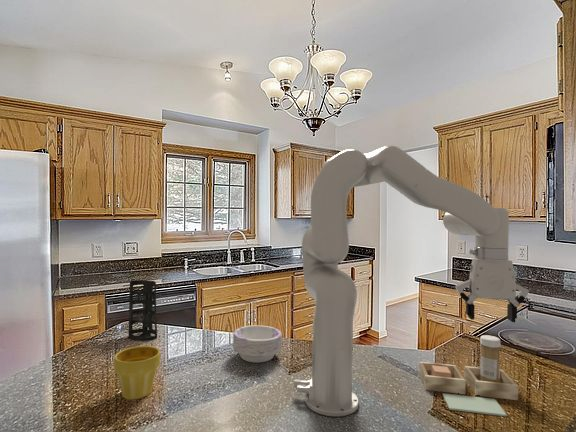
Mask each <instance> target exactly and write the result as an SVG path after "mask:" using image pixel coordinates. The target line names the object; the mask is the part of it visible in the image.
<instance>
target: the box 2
mask: <svg viewBox="0 0 576 432" xmlns="http://www.w3.org/2000/svg"><path fill="white" fill-rule="evenodd" d="M463 374H464V375H463V377H464V378H465V380H466V381H467V382H466V383H467V385H468V384H469V385H468V386H469V388H470V387H471V388H470V389H471V391H472V390H473V391H472V392H473V394H474V393H475V394H474V395H475V396H476V395H480V396H479V397H484V398H493V399H503V400H505V399H506V400H514V401H519V385H518V384H517V383H516V382H515V381H514V380H513V379H512V377H510V375H508V374H507V373H506V372H505V370H504V369H501V368H500V378H499V383H498V382H488V381H481V366H480V367H478V366H470V365H468V366H467V365H465V366H464V373H463Z"/></svg>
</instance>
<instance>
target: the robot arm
mask: <svg viewBox="0 0 576 432" xmlns="http://www.w3.org/2000/svg"><path fill="white" fill-rule="evenodd" d="M383 182H385V184H388V185H389V186H390V187H392V188H394V190H396V191H397V192H399V193H400V194H401V195H403V196H404V197H406V198H407V199H408V200H409V201H411V202H412V203H414V204H416V205H418V206H422V207H424V208H427V209H428V208H429V209H434V210H437V211H441V212H444V213H445V214H444V215H443V217H442V218H443V219H442V224H443V226H444V228H445V229H446V230H447V231H448V232H450V233H451V234H454V235H458V236H459V235H462V236H475V246H474V247H473V248H471V249H469V255H473V256H474V258H472V259H471V260H472V261H471V264H470V265H471V266H470V269H469V270H470V271H469V278H468V280H465V281H463V282H461V283H458V284H456V285H455V286H454V287H455V289H456V292H457V293H458V296H459V297H461V299H462V300H463V301H464V302H465V314H466V316H467V317H468V318H469V319H470V320H473V321H474V320H475V304H474V302H475V301H476V300H477V299H484V300H485V299H486V300H487V299H488V300H506V301H507V302H508V304H507V307H506V309H507V310H506V311H507V312H506V313H507V314H506V315H507V316H506V318H507V320H508V321H510V322H512V323H516V319H517V318H518V307H520V305H521V303H523V302H524V301H525V299H526V297H527V296H528V295H529V293H530V290H529V289H528V288H525V287H523V286H522V285H520V284H518V283H516V275H515V267H514V263H513V260H510V259H509V233H510V232H509V230H510V229H509V228H510V227H509V221H510V220H509V218H510V215H509V210H508V209H506V208H503V207H494V206H492V204H491V203H489V202H488V201H487V200H485V199H484V198H483V197H481V196H480V194H478V193H476V192H474V191H473V190H471V189H468V188H466V187H465V186H461V185H459V184H457V183H454V182H452V181H450V180H448V179H445V178H443V177H440V176H437V175H436V174H435V173H433V172H432V171H430V170H429V169H428V168H426V167H425V166H424V165H423V164H422V163H420V162H418V160H416V159H414V158H413V156H411V155H410V154H408V153H407V152H405V150H403V149H402V148H400V147H397V146H395V145H386V146H383V147H380V148H378V149H375V150H373V151H371V152H368V153H363V152H362V151H360V150H359V149H358V150H357V149H354V148H353V149H345V150H343V151H340V152H339V153H337V154H335V155H334V156H332V157H330V158H328V159H327V160H326V161H324V162H323V164H322V166H321V169H320V171H319V173H318V175H317V176H316V179H315V181H314V183H313V186H312V189H311V195H310V227H308V228H307V229H306V231H305V232H304V234H303V237H302V241H301V254H302V256H301V257H302V268H303V280H304V285H305V289H306V292H307V293H308V294H309V296H310V297H311V298H312V299H314V301H315V308H314V314H313V321H312V353H311V354H312V355H311V356H312V359H311V360H312V361H311V367H312V368H311V369H312V370H311V379H307V380H303V379H296V378H294V380H293V388H294V389H295V388H296V393H305V395H304V401H305V405H306V406H307V407H308V409H310V410H311V411H313V412H314V413H316V414H320V415H322V416H323V415H324V416H326V417H334V418H335V417H346V416H348V415H351V414H353V413H355V412H356V411H357V410H358V408H359V401H360V400H359V397H358V396H357V395H356V394H355V393H354V392H353V357H354V356H353V355H354V354H353V353H354V318H355V310H356V306H357V298H358V291H357V286H356V284H355V281H354V280H353V279H352V277H351V276H350V275H349V274H348V273H347V272H345V271H343V270H341V269H339V263H341V262H342V261H344V260H345V258H346V257H347V256H348V253H349V248H350V241H349V228H348V217H347V215H348V214H347V208H348V207H347V205H348V204H347V203H348V199H349V198H348V197H349V195H350V193H351V191H352V189H353V188H356V187H363V186H369V185H374V184H379V183H383ZM466 288H468V292H469V293H468V294H465V292H464V289H466ZM517 291H519V294H518V295H517Z"/></svg>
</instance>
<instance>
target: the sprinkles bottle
mask: <svg viewBox="0 0 576 432" xmlns="http://www.w3.org/2000/svg"><path fill="white" fill-rule="evenodd" d="M479 343H480V368H481V381H488V382H498V383H499V378H500V369H501V367H500V357H501V356H500V355H501V353H500V348H501V339H500V338H499V337H497V336H495V335H494V336H493V335H488V334H487V335H486V334H485V335H484V334H483V335H481V336H480V342H479Z"/></svg>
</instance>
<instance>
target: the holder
mask: <svg viewBox="0 0 576 432" xmlns="http://www.w3.org/2000/svg"><path fill="white" fill-rule="evenodd" d="M137 285H143V286H142V287H143V289H142V290H134V286H137ZM128 294H129V298H128V299H129V303H128V339H131V340H137V341H151V340H152V341H153V340H156V339H157V338H158V326H157V325H158V323H157V321H158V320H157V282H156V281H155V280H145V279H144V280H143V279H141V280H131V281H129V293H128ZM134 295H137V299H136V300H135V299H134ZM137 304H138V305H140V304H141V305H142V309H133V308H134V307H133V306H135V305H137ZM135 314H136V319H133V315H135ZM139 323H142V326H141V328H136V329H135V328H134V329H133V325H134V324H139ZM153 325H154V328H153ZM134 334H137V335H134ZM150 335H152V336H150Z"/></svg>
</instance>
